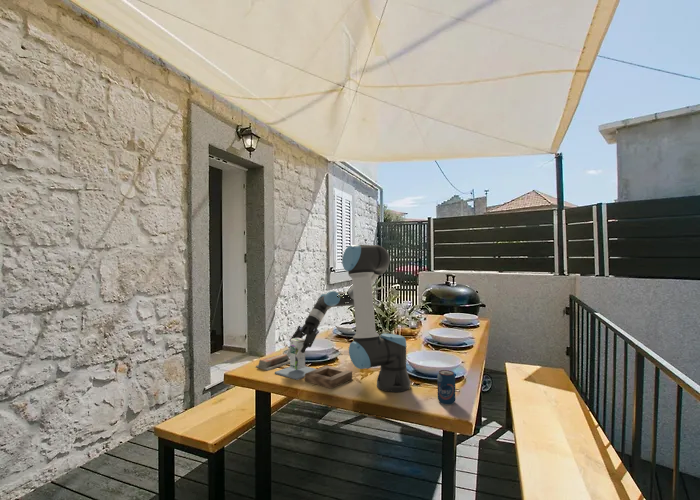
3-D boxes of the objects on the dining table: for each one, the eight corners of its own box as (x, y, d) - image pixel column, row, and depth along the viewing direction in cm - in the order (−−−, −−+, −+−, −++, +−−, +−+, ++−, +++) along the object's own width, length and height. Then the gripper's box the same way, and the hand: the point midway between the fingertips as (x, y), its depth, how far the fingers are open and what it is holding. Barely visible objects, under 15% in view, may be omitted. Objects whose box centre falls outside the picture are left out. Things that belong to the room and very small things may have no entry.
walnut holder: (352, 378, 168) (352, 371, 168) (331, 388, 155) (331, 380, 155) (326, 372, 178) (326, 365, 178) (305, 381, 165) (305, 373, 165)
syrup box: (289, 367, 178) (289, 339, 178) (298, 365, 182) (298, 337, 182) (296, 370, 174) (296, 340, 174) (305, 367, 178) (305, 338, 178)
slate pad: (319, 371, 179) (319, 369, 179) (297, 380, 166) (297, 378, 166) (297, 365, 189) (297, 364, 189) (274, 373, 176) (274, 371, 176)
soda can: (438, 405, 138) (438, 374, 138) (436, 398, 145) (436, 369, 145) (456, 406, 137) (456, 375, 137) (454, 399, 143) (453, 369, 144)
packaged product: (268, 362, 181) (255, 359, 186) (268, 371, 180) (255, 368, 186) (293, 354, 195) (280, 351, 201) (293, 363, 195) (280, 360, 201)
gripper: (331, 325, 185) (310, 363, 171) (304, 321, 196) (283, 357, 183) (324, 316, 181) (302, 355, 167) (298, 313, 192) (275, 349, 178)
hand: (292, 356), depth 175 cm, fingers closed on syrup box, 6 cm apart
